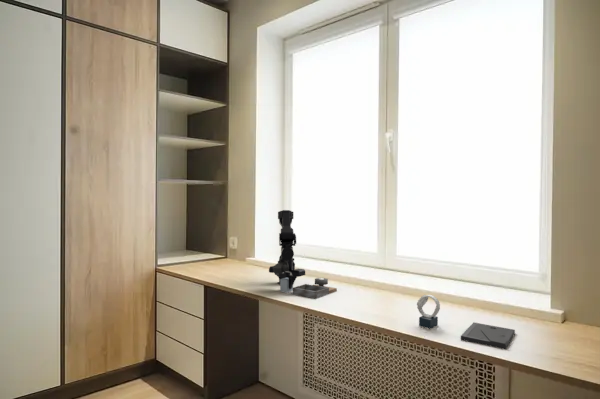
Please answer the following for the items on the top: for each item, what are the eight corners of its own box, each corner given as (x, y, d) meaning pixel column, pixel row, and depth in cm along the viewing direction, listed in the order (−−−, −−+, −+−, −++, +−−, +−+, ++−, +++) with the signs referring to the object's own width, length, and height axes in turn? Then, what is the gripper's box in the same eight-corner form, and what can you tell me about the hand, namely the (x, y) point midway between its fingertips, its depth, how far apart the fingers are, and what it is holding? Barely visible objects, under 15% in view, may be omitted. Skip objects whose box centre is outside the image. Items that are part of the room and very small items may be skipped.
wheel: (312, 283, 197) (312, 279, 197) (319, 281, 202) (319, 276, 202) (323, 285, 194) (323, 280, 194) (330, 283, 199) (330, 278, 199)
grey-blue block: (280, 291, 196) (280, 279, 196) (286, 289, 200) (286, 277, 200) (286, 292, 194) (286, 280, 194) (292, 290, 198) (293, 278, 198)
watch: (421, 321, 150) (422, 292, 150) (442, 326, 145) (442, 295, 145) (414, 324, 147) (414, 294, 146) (434, 329, 141) (435, 298, 141)
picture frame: (505, 351, 124) (514, 335, 138) (506, 343, 124) (514, 328, 138) (460, 341, 131) (473, 327, 146) (460, 334, 131) (473, 321, 146)
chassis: (292, 294, 191) (292, 287, 190) (313, 287, 205) (313, 281, 205) (316, 298, 182) (316, 291, 182) (336, 291, 197) (336, 284, 197)
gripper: (261, 256, 196) (261, 288, 196) (292, 260, 185) (291, 294, 185) (276, 254, 205) (275, 284, 205) (306, 257, 194) (305, 290, 194)
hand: (286, 288), depth 197 cm, fingers closed on grey-blue block, 4 cm apart
